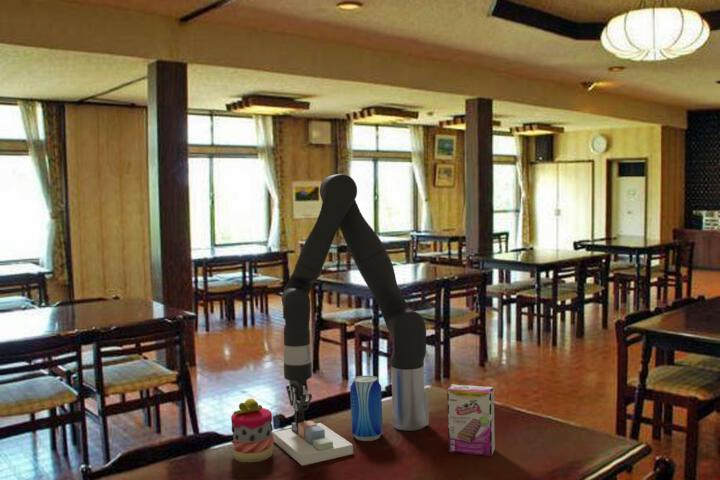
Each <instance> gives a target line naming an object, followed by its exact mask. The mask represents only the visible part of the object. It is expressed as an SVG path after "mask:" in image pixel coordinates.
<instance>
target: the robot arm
mask: <svg viewBox="0 0 720 480" xmlns="http://www.w3.org/2000/svg"><path fill="white" fill-rule="evenodd" d="M357 195H358V187H357V184H356V182H355V180H354V178H352V176H350V175H347V174H345V173H344V174H343V173H337V174H331V175H329V176H327V177H325V178H324V179H323V180H322V181H321V183H320V187H319V196H320V199H321V201H322V204H321V207H320V211H319V215H318V217H317V219H316V221H315V223H314V225H313V227H312V229H311V231H310V233H309V235H308V236H307V238H306V239H305V242H304V244H303V246H302V247H301V251H300V253H299V256H298V258H297V260H296V263H295V267H294V269H293V272H292V273H291V275H290V277H289V279H288V281H287V283H286V285H285V286H284V289H283V292H282V294H281V302H282V306H283V307H284V322H285V323H284V326H283V377H284V379H285V380H287V381H289V384H288V385H286V386H285V389H286V393H287V396H288V400H289V404H290V406H291V407H292V409H293V410H294V422H295V423H296V424H297V425H298V423H301V422H304V420H305V411H306V410H308V409H309V407H310V404H311V401H312V398H313V395H312V394H311V393H309V386H308V383H307V381H308V380H309V379H311V378H312V377H313V369H312V368H313V367H312V363H313V362H312V360H313V359H312V349H311V333H310V332H311V331H310V322H311V297H310V294H311V291H312V288H313V286H314V283H315V282H316V281H317V280H318V279H319V277H320V275H321V272H322V270H323V268H324V265H325V263H326V260H327V257H328V255H329V251H330V250H331V246H332V244H333V241H334V239H335V238H336V234H337V232H338V231H339V229H340V232H341V235H342V237H343V239H344V241H345V244H346V247H347V248H348V250H349V253H350V255H351V257H352V259H353V262H354V263H355V266H356V268H357V270H358V271H359V273H360V275H361V277H362V279H363V281H364V282H365V284H366V286H367V289H369V291H370V293H371V295H373V297H374V299H375V300H376V303H377V305H378V308H379V311H380V312H381V316H382V318H383V321H384V323H385V326H386V329H387V331H388V332H389V334H390V335H391V336H392V337H393V354H392V355H391V357H390V369H391V370H390V372H391V373H390V374H391V376H390V377H391V394H392V395H391V398H392V399H391V400H392V401H391V402H392V403H391V404H392V426H393V428H395V429H397V430H399V431H406V432H407V431H408V432H409V431H419V430H422V429H424V428H425V427H426V426H429V424H430V421H429V420H430V419H429V418H430V417H429V395H428V391H426V389H425V357H426V354H427V329H426V322H425V320H424V317H423V316H422V315H421V313H419V312H417V311H415V310H413V309H412V308H411V307H410V306H409V304H408V303H407V302H406V300H405V298H404V296H403V294H402V292H401V291H400V289H399V286H398V282H397V278H396V273H395V267H394V265H393V261H392V260H391V257H390V255H389V253H388V251H387V249H386V248H385V245H384V244H383V242H382V241H381V239H380V237H379V236H378V235H377V233H376V231H374V229H373V228H372V227H371V225H370V224H369V223H368V222H367V220H366V218H365V217H364V216H363V215H362V211H361V210H360V208H359V206H358V204H357V201H356V198H357Z"/></svg>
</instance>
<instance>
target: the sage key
mask: <svg viewBox="0 0 720 480" xmlns="http://www.w3.org/2000/svg"><path fill="white" fill-rule="evenodd" d="M313 447H314V448H315V449H316V450H318V451H322V450H327V449H331V448H333V441H331V440H330V439H329V438H327V437H324V438H320V439H315V440H313Z"/></svg>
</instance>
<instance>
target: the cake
mask: <svg viewBox="0 0 720 480" xmlns="http://www.w3.org/2000/svg"><path fill="white" fill-rule="evenodd" d="M238 409H239V410H235V411H233V413H232V414H231V416H230V417H231V419H230V422H231V433H232V437H233V440H231V444H233V445H234V446H233V459H234V460H236V461H237V462H240V463H246V462H248V463H258V462H263V461H265V460H268V459H269V457H270V458H271V457H272V456H273V454H274V453H273V444H274V443H275V442H274V437H273V432H274V431H273V430H274V428H273V425H272V422H273V415H272V411H271V410H270V409H269V408H268V409H267V408H264V407H263V406H262V405H261V404H259V403H258V401H256V400H255V399H253V398H248V399H246V400H245V401H244V402H240V403H239V405H238Z"/></svg>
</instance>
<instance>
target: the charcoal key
mask: <svg viewBox="0 0 720 480" xmlns="http://www.w3.org/2000/svg"><path fill="white" fill-rule="evenodd" d="M304 422H306V420H305V419H304ZM291 429H292V431H293V432H294V433H296V434H299V431H298V425H297V424H296V423H295V421H294V422H291Z"/></svg>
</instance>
